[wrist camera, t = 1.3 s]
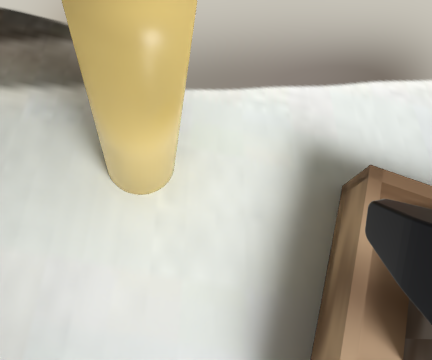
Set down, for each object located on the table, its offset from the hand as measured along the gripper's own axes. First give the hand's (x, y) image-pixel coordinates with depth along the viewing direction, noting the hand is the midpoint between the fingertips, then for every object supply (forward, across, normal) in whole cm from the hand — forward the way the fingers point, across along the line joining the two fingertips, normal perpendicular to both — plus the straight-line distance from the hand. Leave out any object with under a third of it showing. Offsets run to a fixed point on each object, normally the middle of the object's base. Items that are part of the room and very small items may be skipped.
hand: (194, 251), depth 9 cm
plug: (+15, 0, +4) cm, 16 cm away
